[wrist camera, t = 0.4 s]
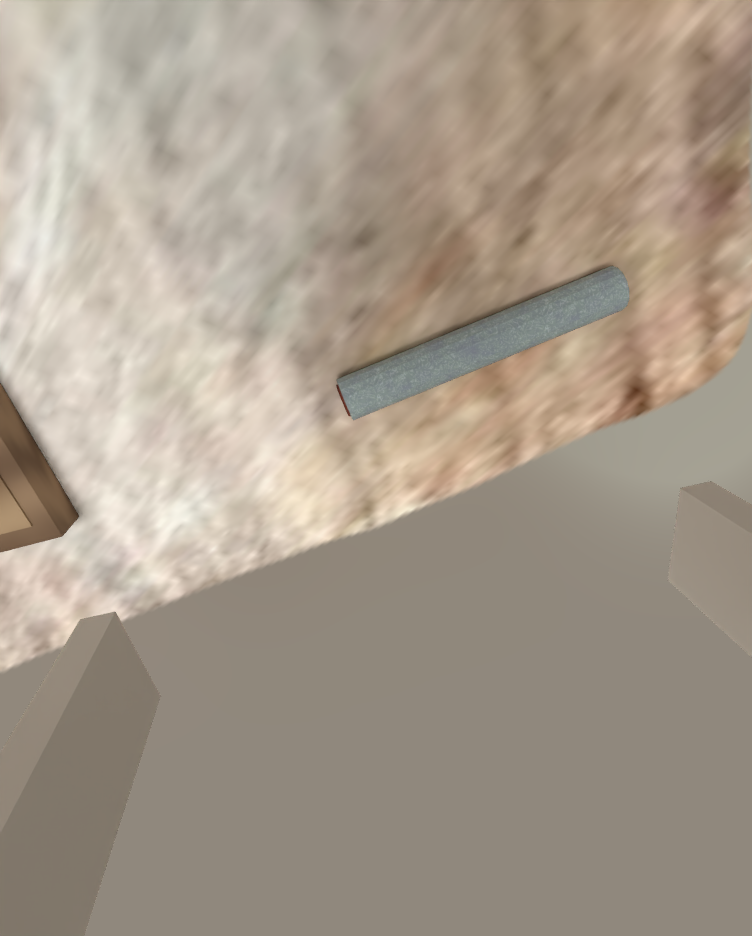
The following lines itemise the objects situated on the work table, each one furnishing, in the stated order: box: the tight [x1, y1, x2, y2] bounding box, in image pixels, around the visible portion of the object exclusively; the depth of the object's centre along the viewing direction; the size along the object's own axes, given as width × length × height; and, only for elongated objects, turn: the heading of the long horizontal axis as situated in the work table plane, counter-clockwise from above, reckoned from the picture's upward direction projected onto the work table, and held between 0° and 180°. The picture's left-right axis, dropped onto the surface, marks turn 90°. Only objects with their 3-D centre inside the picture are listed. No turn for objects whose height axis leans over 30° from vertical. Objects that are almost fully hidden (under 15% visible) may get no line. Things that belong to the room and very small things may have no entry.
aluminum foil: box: [336, 266, 629, 420], centre depth 37 cm, size 23×7×3 cm, turn 111°
